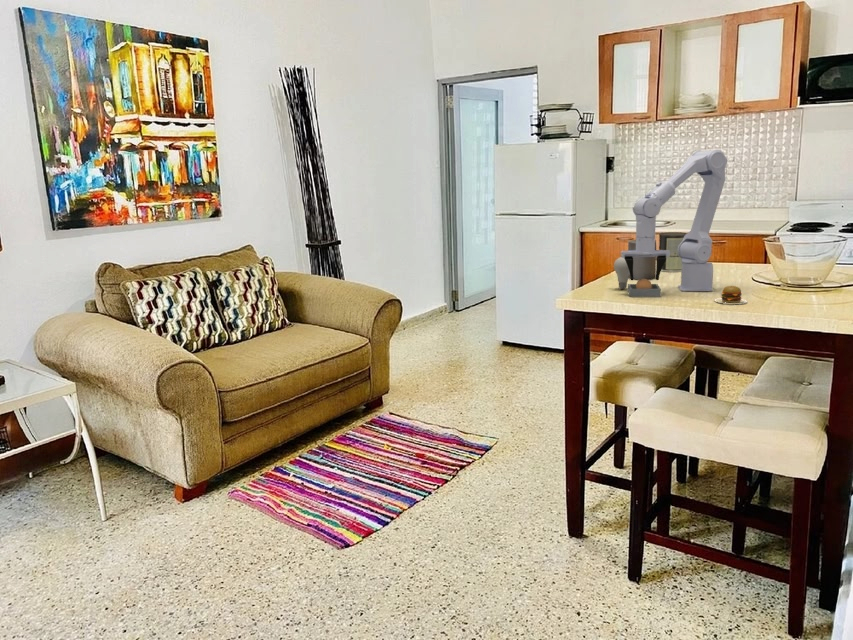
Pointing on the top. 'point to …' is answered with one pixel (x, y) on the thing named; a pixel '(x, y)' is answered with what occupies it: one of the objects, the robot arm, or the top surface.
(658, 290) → the gray square tray
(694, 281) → the robot arm
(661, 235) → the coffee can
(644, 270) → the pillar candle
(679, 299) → the top surface
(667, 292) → the top surface
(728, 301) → the hamburger
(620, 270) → the lightbulb
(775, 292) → the top surface
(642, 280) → the ball
